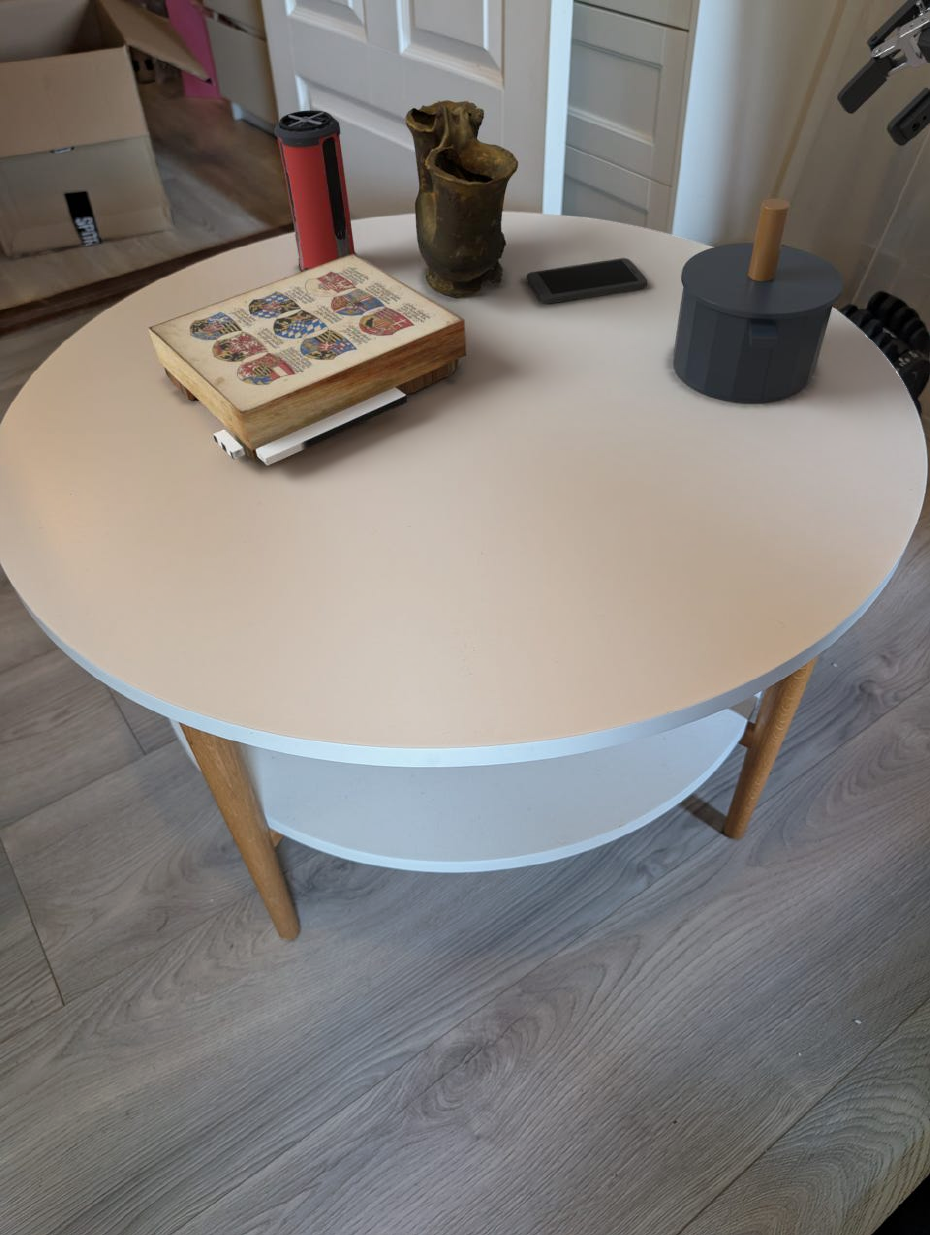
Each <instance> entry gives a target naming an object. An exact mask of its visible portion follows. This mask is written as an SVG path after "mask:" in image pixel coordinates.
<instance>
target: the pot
mask: <svg viewBox="0 0 930 1235" xmlns="http://www.w3.org/2000/svg"><path fill="white" fill-rule="evenodd" d="M833 307H834V304H832V305H831V306H830V307H828V308H826V309H824V310H822V311H820V312H817V313H814V314H811V315H807V316H803V317H797V318H790V319H755V318H747V317H740V316H736V315H731V314H727V313H724V312H720V311H717V310H715V309H712V308H710V307H708V306H705V305H703V304H702V303H700V302H698V301H697V300H695V299H694V298H693V297H691V296H690V295H689V294H688V293H687V292H686V290H685V289H684V287H683V286H682V291H681V299H680V305H679V314H678V321H677V326H676V334H675V340H674V347H673V361H672V365H673V370H674V373H675V374H676V376H677V378H679V380H681V382H683V383H684V384H685V385H686V386H687V387H689V388H690V389H692V390H694V391H696V392H697V393H699V394H702V395H704V396H707V397H709V398H712V399H716V400H720V401H723V402H728V403H729V402H730V403H735V404H746V405H747V404H750V405H751V404H752V405H753V404H754V405H755V404H768V403H774V402H780V401H783V400H786V399H790V398H791V397H794V396H796V395H797V394H799V393H801V392H802V391H804V390H805V389H806V388H807V387H808V385H809V384H810V382H811V380H812V378H813V376H814V374H815V372H816V368H817V364H818V361H819V357H820V355H821V354H820V353H821V350H822V346H823V343H824V339H825V336H826V332H827V329H828V328H827V327H828V324H829V322H830V318H831V314H832V311H833Z"/></svg>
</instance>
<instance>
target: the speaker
mask: <svg viewBox="0 0 930 1235" xmlns="http://www.w3.org/2000/svg"><path fill="white" fill-rule="evenodd" d="M273 131H274V135H275V137H276V138H277V142H278V147H279V153H280V160H281V163H282V164H281V165H282V167H283V172H284V178H285V184H286V190H287V195H288V200H289V206H290V211H291V217H292V222H293V223H292V224H293V228H294V237H295V243H296V248H297V254H298V269H299V271H300V272H303V271H306V270H308V269H311V268H314V267H317V266H319V265H322V264H325V263H328V262H330V261H333V260H336V259H339V258H341V257H344V256H347V255H350V254H352V253H354V254H356V255H357V252H356V251H355V242H354V236H353V235H354V234H353V228H352V222H351V213H350V212H351V211H350V206H349V199H348V198H349V197H348V190H347V183H346V175H345V174H346V173H345V168H344V159H343V154H342V145H341V136H340V135H341V126H340V122H339V121H338V120H337V119H336V118H334V117H333V115H332V114H331V113H329V112H327V111H323V110H300V111H294V112H291V113H289V114H285V115H284V116H282V117H281V118H280V119H279V121H278V123H277V124H276V125H275V127H274V128H273Z"/></svg>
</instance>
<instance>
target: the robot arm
mask: <svg viewBox="0 0 930 1235" xmlns="http://www.w3.org/2000/svg"><path fill="white" fill-rule="evenodd" d="M895 30H897V32H898V33H897V34H896V35H895V36H893V37H891V38H889V39H887V38H888V37H890V35H891V34H892V33H893V32H894V31H895ZM918 35H919V36H918ZM917 36H918V40H916V37H917ZM886 39H887V40H886ZM866 45H867V46H868V48H869V51H870V58H869V60H868V61H867V63H866V64H864V65H863V66H862V68H861V69H860V70H859V71H857V72H856V74H855V75H854V76H853V77H852V78H851V79H850V80H849V81H848V82H847V83H846V84H845V85H844V86H843V88H842V89H841V90H840V91H838V93H837V96H836V99H837V102H838V103H839V105H840V106H841V107H842V109H843V111H844V112H846V113H847V114H850V115H853V114H854V113H856V112H857V111H858V110H859V109H860V108H861V107H862V106H863V105H864V104H865V103H866V102H867V101H868V100H869V99H870V98H871V97H872V96H873V95H874V94H875V93H876V92H877V91H878V90H879V89H880V88H881V87H882V86H883V85H885V83H886V82H887V81H888V78H890V77H891V76H893V75H896V74H897V73H899V72H901V71H903V70H904V69H907V68H909V67H911V68H914V69H917V68H919V67H921V66H923V65H925V64H926V63H928V64H930V0H906V1H905V2H904V3H903V4H902V5H901V6H900V7H899V8H898V9H897V10H896V11H895V12H894V13H893V14H892V15H891V16H890V17H889V18H888V19H887V20H886V21H885V22H884V23H883V24H882V25H881V26H880V27H879V28H878V29H877V30H876V31H874V33H873V34H871V36H870V37H869V38H868V39H867V41H866ZM901 51H902V53H903V54H901V55H900V56H897V55H898V54H899V53H900V52H901ZM896 56H897V57H896ZM929 125H930V88H928V87H925V88H923V89H922V90H921V91H920V92H919V93H918V94H917V95H916V96H915V97H914V98H913V99H912V100H911V101H910V102H909V103H908V104H906V106H904V108H902V110H901V111H900V112H898V114H897V115H895V116H894V118H892V120H890V121H889V123H888V124H887V126H886V131H887V133H888V134H889V137H890V138H891V139H892V141H893V142H894V143H895V144H897V145H898V146H901V147H902V146H905V145H907V144H908V143H909V142H910V141H911V140H913V139H914V138H916V137H917V136H918V135H919V134H921V132H922V131H923V130H924V129H925V128H926V127H927V126H929Z"/></svg>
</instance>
